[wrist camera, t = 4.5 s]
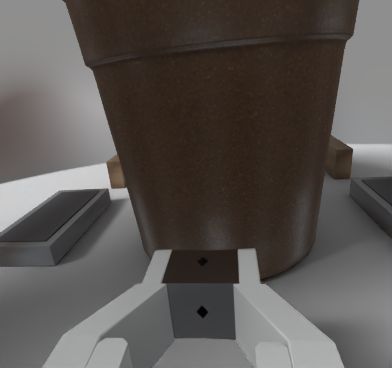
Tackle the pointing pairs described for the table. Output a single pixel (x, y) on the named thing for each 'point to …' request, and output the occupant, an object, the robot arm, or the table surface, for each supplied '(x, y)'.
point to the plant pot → (220, 116)
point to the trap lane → (100, 199)
